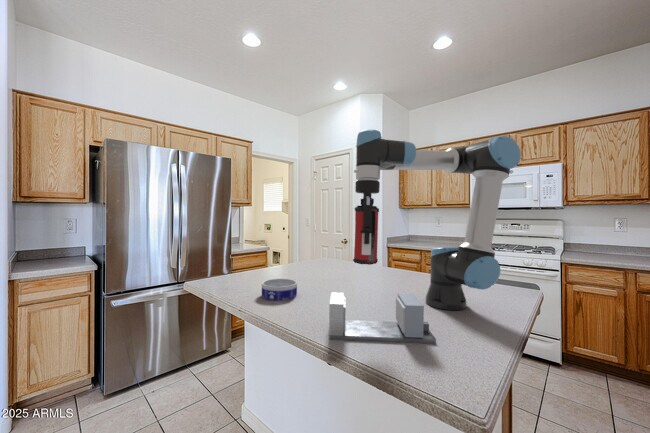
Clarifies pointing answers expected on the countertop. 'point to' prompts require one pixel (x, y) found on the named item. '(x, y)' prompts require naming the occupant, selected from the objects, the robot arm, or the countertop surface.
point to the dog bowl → (279, 289)
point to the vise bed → (379, 332)
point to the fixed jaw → (337, 314)
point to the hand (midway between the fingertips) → (365, 252)
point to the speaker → (358, 237)
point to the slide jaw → (410, 315)
